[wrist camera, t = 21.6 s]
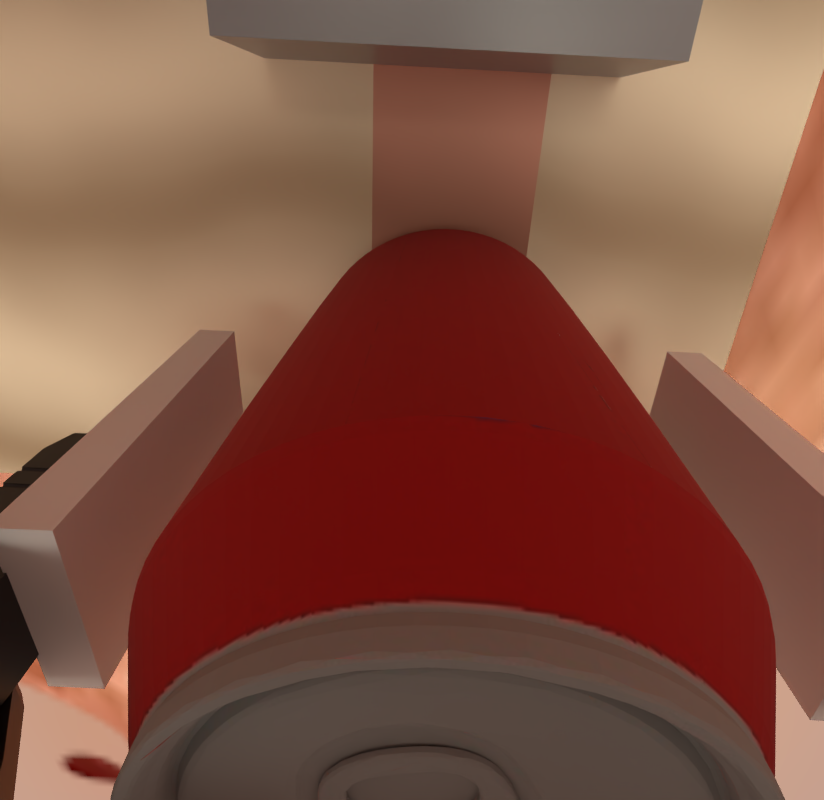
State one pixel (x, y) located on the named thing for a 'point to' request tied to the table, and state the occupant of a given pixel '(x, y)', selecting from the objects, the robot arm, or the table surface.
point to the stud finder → (466, 33)
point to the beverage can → (448, 570)
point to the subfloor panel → (362, 190)
